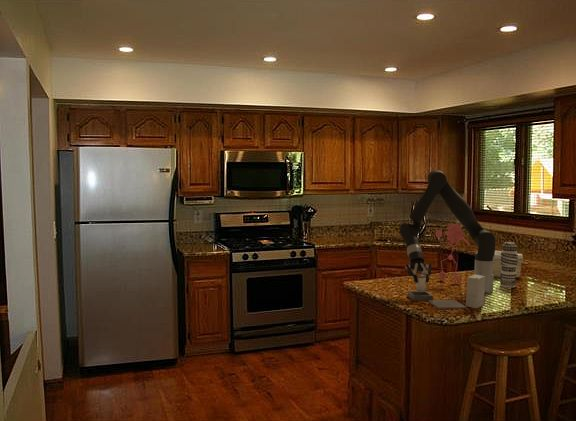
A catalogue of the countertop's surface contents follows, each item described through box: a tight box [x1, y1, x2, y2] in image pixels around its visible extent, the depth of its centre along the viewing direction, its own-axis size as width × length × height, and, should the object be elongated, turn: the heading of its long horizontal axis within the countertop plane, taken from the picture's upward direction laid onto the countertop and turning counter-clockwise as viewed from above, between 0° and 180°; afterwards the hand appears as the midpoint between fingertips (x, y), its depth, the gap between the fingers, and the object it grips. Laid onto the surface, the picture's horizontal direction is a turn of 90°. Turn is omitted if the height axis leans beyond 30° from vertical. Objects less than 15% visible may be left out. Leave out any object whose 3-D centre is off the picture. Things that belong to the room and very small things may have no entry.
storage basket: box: [475, 250, 524, 279], centre depth 338 cm, size 24×16×15 cm
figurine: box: [435, 222, 472, 285], centre depth 316 cm, size 15×26×35 cm, turn 34°
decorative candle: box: [499, 241, 518, 288], centre depth 308 cm, size 9×9×25 cm
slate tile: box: [427, 299, 467, 310], centre depth 264 cm, size 14×14×1 cm
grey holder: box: [407, 290, 434, 302], centre depth 276 cm, size 10×10×2 cm
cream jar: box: [415, 273, 427, 291], centre depth 275 cm, size 5×5×8 cm
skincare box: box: [465, 273, 485, 309], centre depth 261 cm, size 8×6×15 cm
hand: (422, 281), depth 273 cm, fingers closed on cream jar, 5 cm apart
